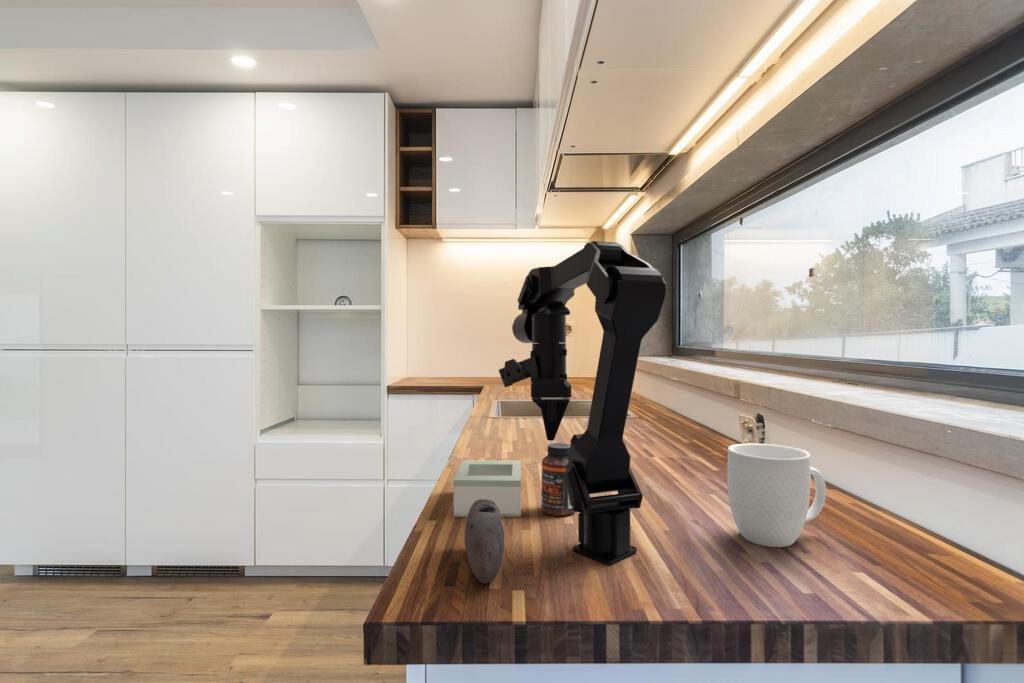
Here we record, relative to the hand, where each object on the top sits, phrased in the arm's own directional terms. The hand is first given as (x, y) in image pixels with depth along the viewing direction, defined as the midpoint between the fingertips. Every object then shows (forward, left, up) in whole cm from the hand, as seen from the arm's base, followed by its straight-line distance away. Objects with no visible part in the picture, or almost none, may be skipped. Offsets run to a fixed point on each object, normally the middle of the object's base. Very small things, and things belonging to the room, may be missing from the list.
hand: (549, 435), depth 92 cm
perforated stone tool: (-9, +22, -13) cm, 28 cm away
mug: (-31, -15, -13) cm, 37 cm away
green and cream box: (+10, +5, -13) cm, 17 cm away
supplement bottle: (-1, -1, -13) cm, 13 cm away
